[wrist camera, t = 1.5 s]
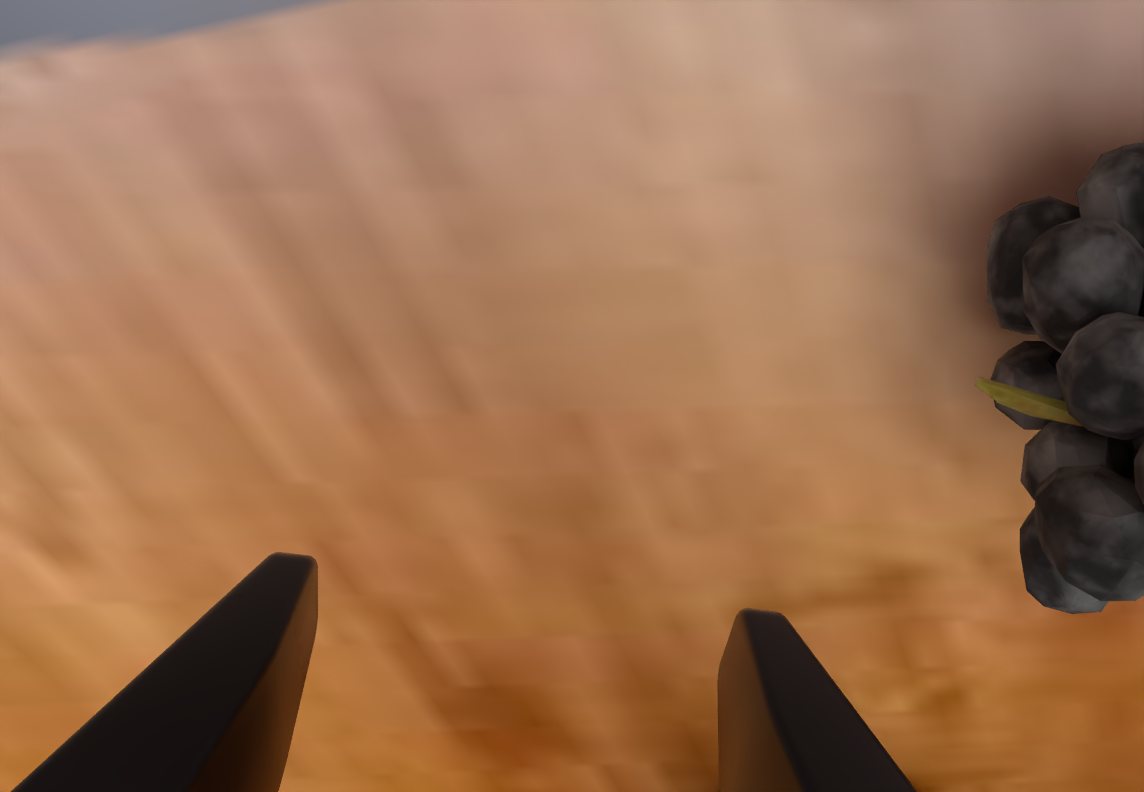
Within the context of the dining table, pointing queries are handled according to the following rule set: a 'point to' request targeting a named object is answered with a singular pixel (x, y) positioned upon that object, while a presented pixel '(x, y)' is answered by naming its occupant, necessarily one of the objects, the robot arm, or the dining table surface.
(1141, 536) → the fruit
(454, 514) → the dining table surface
